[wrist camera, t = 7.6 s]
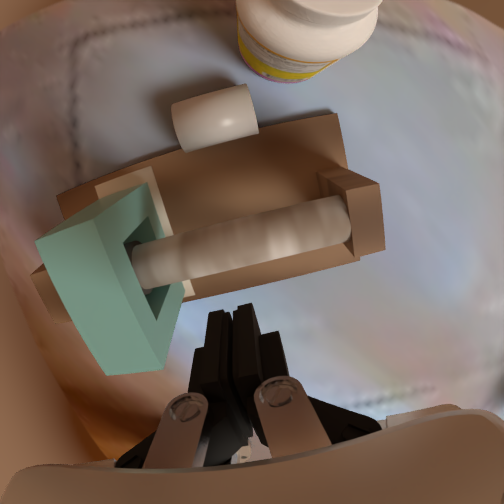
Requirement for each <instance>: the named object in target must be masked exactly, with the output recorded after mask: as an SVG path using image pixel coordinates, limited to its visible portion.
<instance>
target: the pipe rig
mask: <svg viewBox="0 0 504 504" xmlns="http://www.w3.org/2000/svg"><path fill="white" fill-rule="evenodd" d="M258 130H259V134H255V135H251V136H247V137H243V138H239V139H235V140H231V141H227V142H223V143H219V144H216V145H212V146H208V147H205V148H201V149H198V150H194V151H191V152H188V153H186V152H184V150H183V149H179V150H176V151H173V152H170V153H166V154H163V155H160V156H157V157H154V158H151V159H148V160H145V161H143V162H140V163H137V164H134V165H131V166H128V167H126V168H123V169H120V170H118V171H115V172H112V173H110V174H107V175H105V176H102V177H99V178H97V179H94V180H92V181H90V182H87V183H85V184H82V185H80V186H77V187H75V188H73V189H70V190H68V191H66V192H64V193H61V194H59V195H57V196H56V197H57V200H58V203H59V206H60V208H61V211H62V214H63V217H64V219H65V220H66V219H68V218H70V217H71V216H73V215H74V214H76V213H77V212H79V211H81V210H82V209H84V208H85V207H87V206H89V205H90V204H92V203H94V202H95V201H97V200H99V199H100V198H103V197H105V196H108V195H111V194H114V193H116V192H119V191H122V190H125V189H128V188H131V187H134V186H137V185H140V184H143V183H146V182H147V183H148V186H149V189H150V193H151V196H152V199H153V202H154V205H155V208H156V211H157V214H158V217H159V220H160V223H161V226H162V228H163V231H164V234H165V238H161V239H157V240H154V241H150V242H146V243H143V244H142V243H141V242H139V241H132V242H129V243H125V244H123V245H124V248H125V250H126V253H127V255H128V258H129V260H130V262H131V265H132V267H133V270H134V272H135V274H136V277H137V279H138V282H139V284H140V286H141V288H142V291H143V293H144V295H146V294H149V293H151V291H152V289H153V288H155V287H159V286H164V285H168V284H172V283H177V282H181V281H182V283H183V286H184V288H185V294H184V297H183V300H182V303H183V302H187V301H192V300H197V299H201V298H206V297H210V296H215V295H219V294H224V293H228V292H233V291H237V290H241V289H246V288H250V287H254V286H259V285H263V284H267V283H271V282H276V281H280V280H284V279H288V278H292V277H296V276H300V275H304V274H309V273H313V272H317V271H321V270H324V269H328V268H332V267H336V266H340V265H344V264H348V263H352V262H356V261H359V260H360V256H364V255H368V254H372V253H375V252H379V251H383V250H385V236H384V224H383V213H382V203H381V194H380V186H379V183H377V182H375V181H373V180H371V179H368V178H366V177H364V176H362V175H360V174H357V173H355V172H353V171H351V170H348V166H347V160H346V155H345V149H344V144H343V139H342V134H341V129H340V124H339V119H338V115H337V113H334V114H328V115H322V116H316V117H310V118H305V119H300V120H294V121H289V122H284V123H280V124H275V125H270V126H266V127H261V128H258ZM30 277H31V279H32V281H33V283H34V285H35V287H36V289H37V291H38V293H39V295H40V297H41V299H42V301H43V303H44V304H45V306H46V308H47V310H48V312H49V314H50V316H51V317H52V319H53V321H54V323H55V324H58V323H64V322H69V321H72V319H71V317H70V315H69V313H68V312H67V310H66V308H65V306H64V304H63V302H62V300H61V298H60V296H59V294H58V292H57V290H56V288H55V286H54V284H53V282H52V280H51V278H50V276H49V274H48V272H47V269H46V267H45V265H44V263H43V264H42V265H41V266H40V267H39V268H38V269H36V270H35V271H34V272H33V273H32V274H31V275H30Z"/></svg>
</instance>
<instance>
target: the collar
mask: <svg viewBox="0 0 504 504" xmlns="http://www.w3.org/2000/svg"><path fill="white" fill-rule="evenodd" d="M161 238H165V234H164V231H163V228H162V226H161V223H160V220H159V217H158V214H157V211H156V208H155V205H154V202H153V199H152V196H151V193H150V189H149V186H148V183H147V182H146V183H143V184H140V185H137V186H134V187H131V188H128V189H125V190H122V191H119V192H116V193H114V194H111V195H108V196H105V197H103V198H100V199H99V200H97V201H95V202H94V203H92V204H90V205H89V206H87V207H85V208H84V209H82V210H81V211H79V212H77V213H76V214H74V215H73V216H71V217H70V218H68V219H66V220H65V221H63V222H62V223H60V224H59V225H57V226H56V227H54V228H53V229H51V230H50V231H48V232H47V233H45V234H44V235H43V236H41V237H40V238H38V239H37V240H35V241H34V242H35V244H36V247H37V249H38V251H39V254H40V256H41V258H42V261H43V263H44V265H45V267H46V269H47V272H48V274H49V276H50V278H51V280H52V282H53V284H54V286H55V288H56V290H57V292H58V294H59V296H60V298H61V300H62V302H63V304H64V306H65V308H66V310H67V312H68V313H69V315H70V317H71V319H72V321H73V322H74V324H75V326H76V328H77V330H78V331H79V333H80V335H81V336H82V338H83V340H84V341H85V343H86V345H87V346H88V348H89V350H90V351H91V353H92V354H93V356H94V358H95V359H96V361H97V362H98V364H99V365H100V367H101V368H102V370H103V371H104V373H105V374H106V376H107V375H118V374H129V373H138V372H147V371H155V370H163V369H164V365H165V361H166V358H167V354H168V350H169V346H170V343H171V339H172V336H173V332H174V328H175V325H176V321H177V318H178V314H179V311H180V307H181V304H182V300H183V297H184V294H185V288H184V286H183V283H182V281H181V282H177V283H172V284H168V285H164V286H159V287H155V288H153V289H152V291H151V293H149V294H146V295H144V293H143V291H142V288H141V286H140V284H139V282H138V279H137V277H136V274H135V272H134V270H133V267H132V265H131V262H130V260H129V258H128V255H127V253H126V250H125V248H124V245H123V244H125V243H129V242H132V241H139V242H141V243H142V244H143V243H146V242H150V241H154V240H157V239H161Z"/></svg>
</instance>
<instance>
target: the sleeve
mask: <svg viewBox="0 0 504 504" xmlns="http://www.w3.org/2000/svg"><path fill="white" fill-rule="evenodd" d="M171 114H172V120H173V124H174V128H175V132H176V135H177V138H178V140H179V143H180V145H181V147H182V149H183V150H184V152H186V153H188V152H191V151H194V150H198V149H201V148H205V147H208V146H212V145H216V144H219V143H223V142H227V141H231V140H235V139H239V138H243V137H247V136H251V135H255V134H259V130H258V124H257V119H256V115H255V111H254V107H253V103H252V100H251V96H250V93H249V90H248V87H247V84H241V85H237V86H233V87H229V88H225V89H221V90H217V91H214V92H210V93H206V94H203V95H199V96H196V97H192V98H189V99H186V100H183V101H179V102H176V103H173V104H172V105H171Z"/></svg>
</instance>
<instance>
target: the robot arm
mask: <svg viewBox="0 0 504 504" xmlns="http://www.w3.org/2000/svg"><path fill="white" fill-rule="evenodd" d="M253 428H254V430H255V433H256V435H257V436H258V437H259V440H260V442H261V444H263V445H265V446H267V447H269V450H270V453H271V456H272V458H270V459H265V460H258V461H252V462H246V461H247V460H248V459H249V457H250V456H251V443H250V441H249V440H248V437H252V436H253ZM244 462H245V463H244ZM0 504H504V421H503V420H502V419H501V418H500V417H498V416H497V415H495V414H493V413H491V412H489V411H486V410H481V409H461V408H459V407H458V406H456V405H452V404H444V405H439V406H435V407H430V408H426V409H421V410H417V411H412V412H407V413H402V414H396V415H390V416H386V419H385V420H379V421H376V420H375V419H372V418H370V417H368V416H365V415H362V414H358V413H355V412H352V411H349V410H346V409H343V408H340V407H337V406H335V405H332V404H329V403H326V402H323V401H321V400H318V399H315V398H312V397H310V396H307V394H306V392H305V390H304V388H303V386H302V384H301V383H300V382H299V381H298V380H297V379H295V378H293V377H290V376H289V372H288V367H287V363H286V358H285V354H284V350H283V346H282V342H281V338H280V334H279V331H275V332H271V333H267V334H262V335H261V332H260V328H259V325H258V322H257V318H256V315H255V311H254V308H253V305H252V303H248V304H244V305H240V306H238V310H235V311H233V320H232V317H231V314H230V312H226V313H225V312H224V310H223V309H222V310H218V311H214V312H209V314H208V321H207V329H206V336H205V343H204V347H201V348H196V349H195V352H194V357H193V363H192V369H191V375H190V382H189V388H188V393H184V394H181V395H179V396H177V397H175V398H174V399H172V400H171V401H170V402H169V403H168V405H167V407H166V408H165V411H164V413H163V416H162V418H161V421H160V423H159V426H158V428H157V430H156V431H155V432H154V433H152V434H151V435H150V436H148V437H147V438H146V439H144V440H143V441H141V442H140V443H139V444H137V445H136V446H135V447H133V448H132V449H130V450H129V451H128V452H126V453H125V454H123V455H122V456H121V457H120V458H119V459H118V461H116V460H115V459H109V460H103V461H96V462H89V463H81V464H73V465H68V464H43V465H35V466H31V467H27V468H25V469H22V470H20V471H18V472H17V473H16V474H15V475H14V476H13V477H12V478H11V480H10V482H9V483H8V485H7V487H6V489H5V491H4V493H3V495H2V497H1V500H0Z"/></svg>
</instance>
